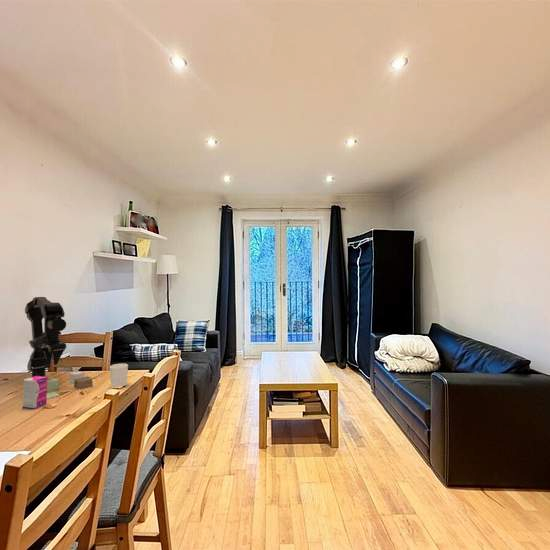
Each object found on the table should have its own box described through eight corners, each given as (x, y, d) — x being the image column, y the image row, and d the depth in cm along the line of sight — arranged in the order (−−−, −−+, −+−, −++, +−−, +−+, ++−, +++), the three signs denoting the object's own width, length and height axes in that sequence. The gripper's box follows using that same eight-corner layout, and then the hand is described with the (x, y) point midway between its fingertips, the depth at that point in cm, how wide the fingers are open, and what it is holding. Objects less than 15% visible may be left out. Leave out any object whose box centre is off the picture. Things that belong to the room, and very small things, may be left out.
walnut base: (74, 387, 157) (74, 379, 157) (87, 384, 162) (87, 376, 162) (78, 390, 153) (78, 381, 153) (92, 387, 158) (92, 378, 158)
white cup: (131, 384, 160) (131, 364, 160) (119, 390, 153) (119, 368, 153) (118, 383, 163) (118, 363, 163) (105, 388, 155) (105, 367, 155)
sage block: (44, 390, 153) (44, 380, 153) (55, 387, 157) (55, 378, 157) (47, 392, 150) (47, 382, 151) (59, 389, 154) (59, 380, 154)
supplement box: (34, 409, 130) (34, 380, 130) (22, 408, 131) (22, 379, 132) (47, 404, 136) (47, 376, 136) (35, 403, 137) (35, 375, 137)
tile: (36, 396, 144) (36, 395, 144) (54, 392, 150) (54, 391, 150) (41, 400, 140) (41, 399, 140) (59, 395, 145) (59, 395, 145)
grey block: (69, 382, 164) (69, 373, 164) (78, 380, 168) (78, 371, 168) (75, 383, 162) (75, 374, 162) (84, 381, 167) (84, 372, 167)
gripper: (24, 330, 154) (25, 364, 153) (37, 333, 142) (37, 369, 142) (52, 327, 162) (52, 359, 162) (66, 330, 151) (66, 364, 150)
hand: (52, 363), depth 154 cm, fingers open, 9 cm apart
